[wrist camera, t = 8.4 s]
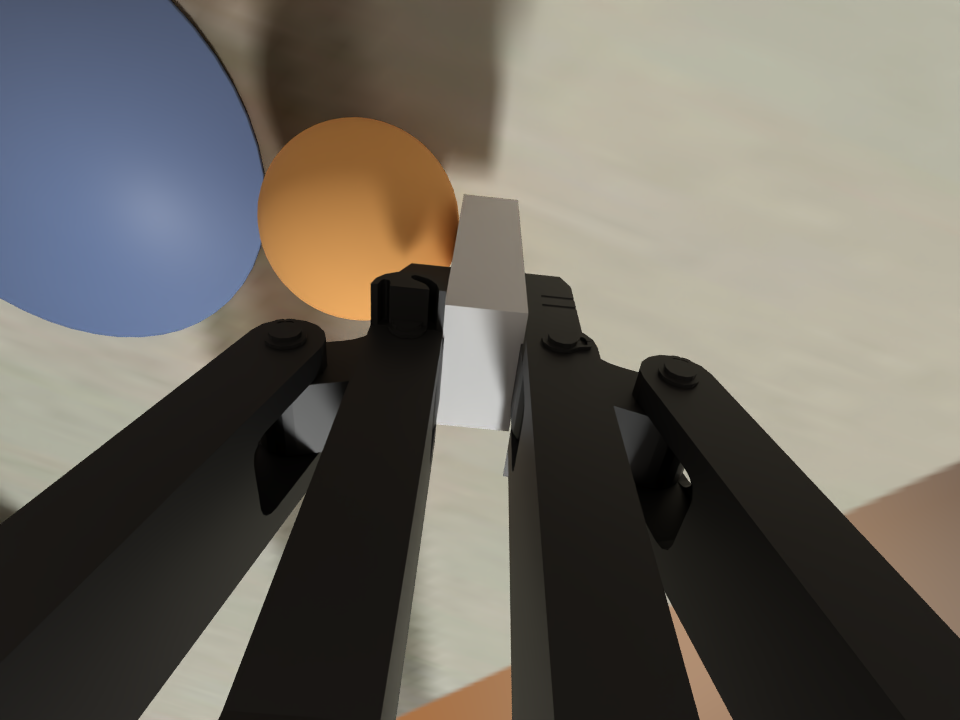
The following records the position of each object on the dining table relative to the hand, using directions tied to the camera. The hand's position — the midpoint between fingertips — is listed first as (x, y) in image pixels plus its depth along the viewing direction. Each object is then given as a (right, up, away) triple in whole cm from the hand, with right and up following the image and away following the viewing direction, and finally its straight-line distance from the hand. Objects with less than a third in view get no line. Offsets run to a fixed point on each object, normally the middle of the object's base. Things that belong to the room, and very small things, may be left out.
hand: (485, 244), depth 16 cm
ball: (-3, +1, 0) cm, 4 cm away
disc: (-14, +3, +2) cm, 14 cm away
